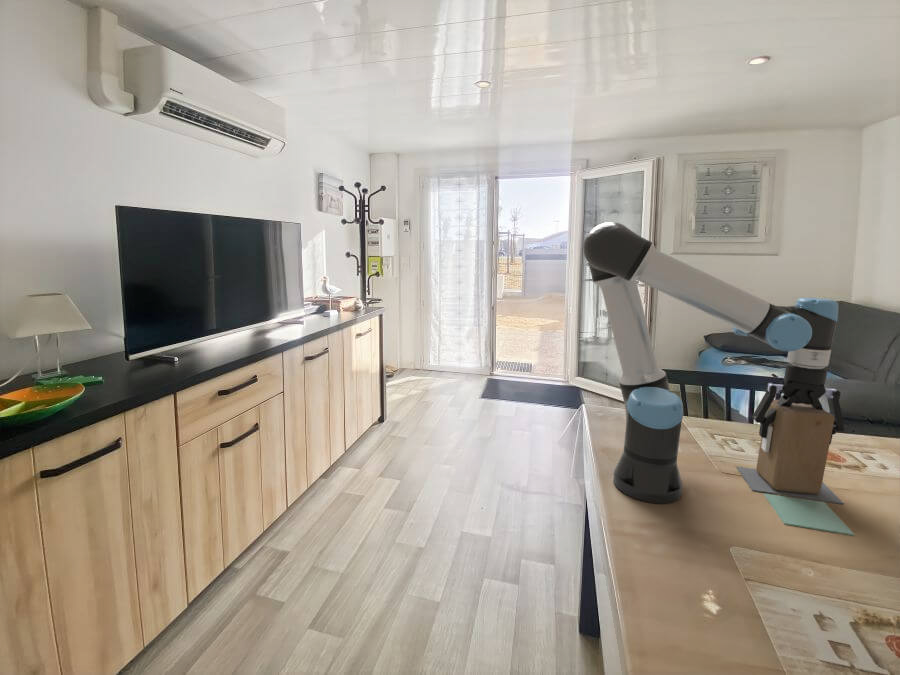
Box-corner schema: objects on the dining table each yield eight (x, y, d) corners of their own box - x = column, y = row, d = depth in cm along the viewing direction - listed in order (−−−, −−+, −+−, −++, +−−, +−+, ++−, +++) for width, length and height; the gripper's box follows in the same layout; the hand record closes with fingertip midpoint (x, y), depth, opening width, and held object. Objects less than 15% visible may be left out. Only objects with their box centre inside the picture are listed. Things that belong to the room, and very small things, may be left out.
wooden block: (821, 496, 102) (837, 415, 98) (773, 491, 104) (787, 411, 100) (797, 475, 112) (811, 400, 108) (753, 471, 113) (765, 397, 110)
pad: (784, 524, 92) (784, 522, 92) (763, 494, 103) (763, 493, 103) (854, 535, 88) (854, 534, 88) (824, 503, 100) (824, 502, 100)
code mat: (751, 490, 105) (752, 489, 105) (736, 467, 116) (736, 466, 116) (843, 504, 99) (843, 502, 99) (817, 478, 111) (818, 477, 111)
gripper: (755, 364, 102) (742, 452, 106) (877, 373, 95) (858, 467, 99) (744, 357, 109) (732, 440, 113) (858, 365, 102) (840, 453, 106)
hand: (791, 453), depth 106 cm, fingers closed on wooden block, 10 cm apart
